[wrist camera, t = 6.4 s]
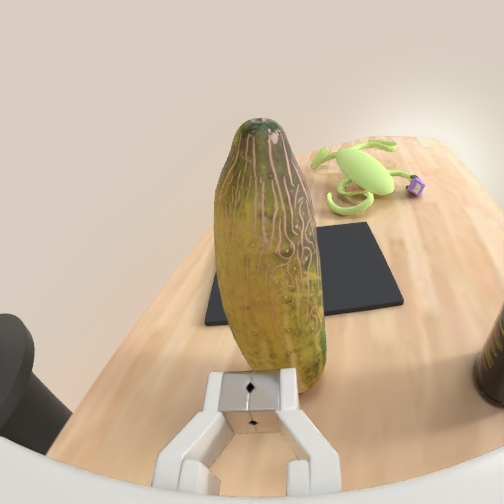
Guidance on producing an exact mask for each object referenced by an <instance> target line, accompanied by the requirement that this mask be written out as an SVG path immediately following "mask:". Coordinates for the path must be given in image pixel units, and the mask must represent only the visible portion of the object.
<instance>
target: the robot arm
mask: <svg viewBox="0 0 504 504" xmlns="http://www.w3.org/2000/svg"><path fill="white" fill-rule="evenodd" d="M268 432H281V434H282V436H283V437H284V439H285V440H286V441H287V443H288V444H289V446H290V447H291V449H292V450H293V452H294V453H295V455H296V456H297V457H298V459H299V460H292V461H290V462H289V463H288V464H287V489H286V497H236V496H219V491H220V479H219V478H218V477H217V476H216V475H214V474H213V473H212V472H211V471H210V470H209V468H210V467H211V466H212V464H213V463H214V462H215V460H216V459H217V458H218V456H219V455H220V454H221V452H222V451H223V450H224V448H225V447H226V446H227V444H228V443H229V442H230V440H231V439H232V437H233V436H234V433H268ZM0 504H504V445H503V446H501V447H499V448H497V449H495V450H492V451H490V452H488V453H485V454H483V455H480V456H478V457H475V458H473V459H470V460H468V461H465V462H462V463H460V464H457V465H454V466H451V467H448V468H445V469H442V470H439V471H436V472H432V473H429V474H426V475H422V476H419V477H415V478H411V479H407V480H403V481H399V482H395V483H390V484H385V485H381V486H375V487H370V488H364V489H358V490H352V491H345V492H342V488H341V473H340V459H339V455H338V453H337V452H336V451H335V450H334V449H333V447H332V446H331V445H330V444H329V443H328V441H327V440H326V439H325V438H324V437H323V435H322V434H321V433H320V432H319V430H318V429H317V428H316V427H315V426H314V424H313V423H312V422H311V421H310V419H309V418H308V417H307V416H306V414H305V413H304V412H303V411H302V409H299V397H298V385H297V376H296V368H285V369H268V370H255V371H238V372H210V374H209V376H208V381H207V387H206V392H205V398H204V404H203V410H202V412H198V413H197V414H196V415H195V416H194V417H193V418H192V419H191V420H190V421H189V422H188V423H187V424H186V425H185V426H184V428H183V429H182V430H181V431H180V432H179V433H178V434H177V435H176V436H175V437H174V438H173V439H172V440H171V441H170V442H169V443H168V444H167V445H166V446H165V447H164V448H163V449H162V450H161V451H160V452H159V454H158V456H157V461H156V465H155V470H154V475H153V480H152V484H151V487H150V486H145V485H140V484H135V483H131V482H127V481H122V480H118V479H114V478H110V477H107V476H103V475H99V474H96V473H93V472H89V471H86V470H83V469H80V468H77V467H74V466H71V465H68V464H65V463H62V462H59V461H57V460H54V459H52V458H49V457H46V456H44V455H41V454H39V453H37V452H34V451H32V450H30V449H27V448H25V447H23V446H21V445H18V444H16V443H14V442H12V441H10V440H8V439H6V438H4V437H1V436H0Z"/></svg>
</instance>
